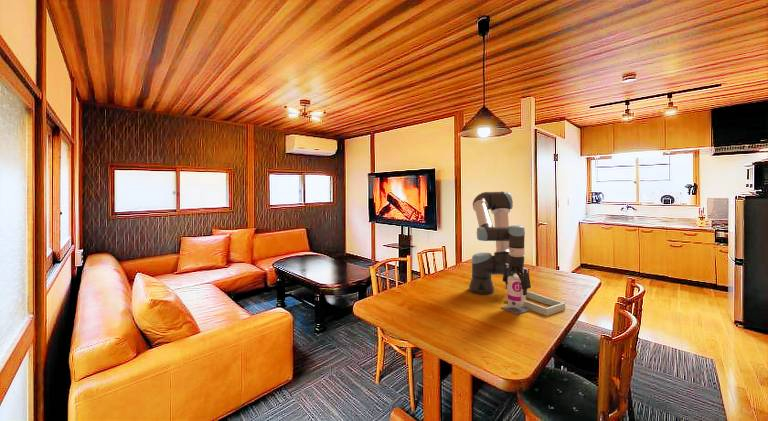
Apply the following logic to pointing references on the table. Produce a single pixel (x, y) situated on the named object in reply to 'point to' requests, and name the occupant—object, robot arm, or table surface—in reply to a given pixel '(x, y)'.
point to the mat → (515, 309)
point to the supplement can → (514, 291)
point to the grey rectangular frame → (555, 305)
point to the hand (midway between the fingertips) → (515, 298)
